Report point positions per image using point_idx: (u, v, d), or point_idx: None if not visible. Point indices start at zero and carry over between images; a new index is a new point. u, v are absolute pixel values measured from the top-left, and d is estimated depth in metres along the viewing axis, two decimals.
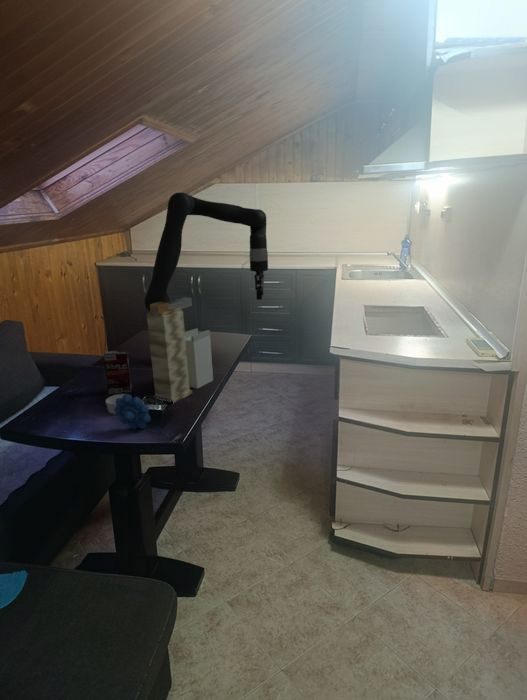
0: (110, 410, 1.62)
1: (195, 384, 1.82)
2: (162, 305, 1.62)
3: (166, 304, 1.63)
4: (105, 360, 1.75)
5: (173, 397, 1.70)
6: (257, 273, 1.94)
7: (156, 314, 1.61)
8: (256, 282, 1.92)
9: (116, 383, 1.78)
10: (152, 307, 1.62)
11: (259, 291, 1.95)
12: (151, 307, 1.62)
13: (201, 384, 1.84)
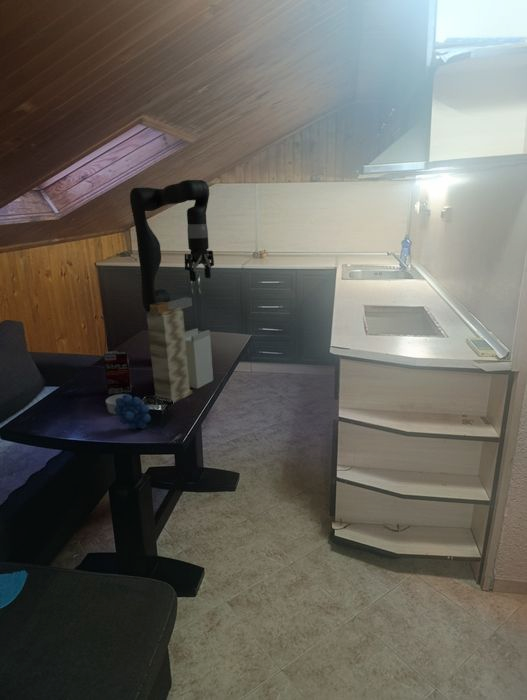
0: (110, 410, 1.62)
1: (195, 384, 1.82)
2: (162, 305, 1.62)
3: (166, 304, 1.63)
4: (105, 360, 1.75)
5: (173, 397, 1.70)
6: None
7: (156, 314, 1.61)
8: None
9: (116, 383, 1.78)
10: (152, 307, 1.62)
11: None
12: (151, 307, 1.62)
13: (201, 384, 1.84)
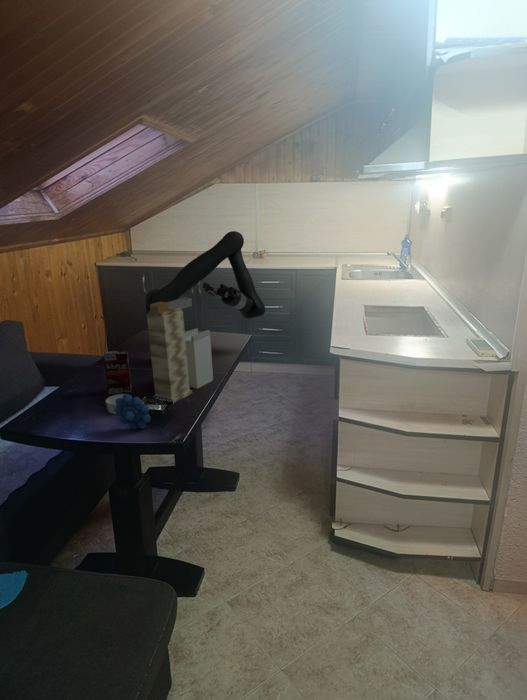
0: (110, 410, 1.62)
1: (195, 384, 1.82)
2: (162, 305, 1.62)
3: (166, 304, 1.63)
4: (105, 360, 1.75)
5: (173, 397, 1.70)
6: None
7: (156, 314, 1.61)
8: None
9: (116, 383, 1.78)
10: (152, 307, 1.62)
11: None
12: (151, 307, 1.62)
13: (201, 384, 1.84)
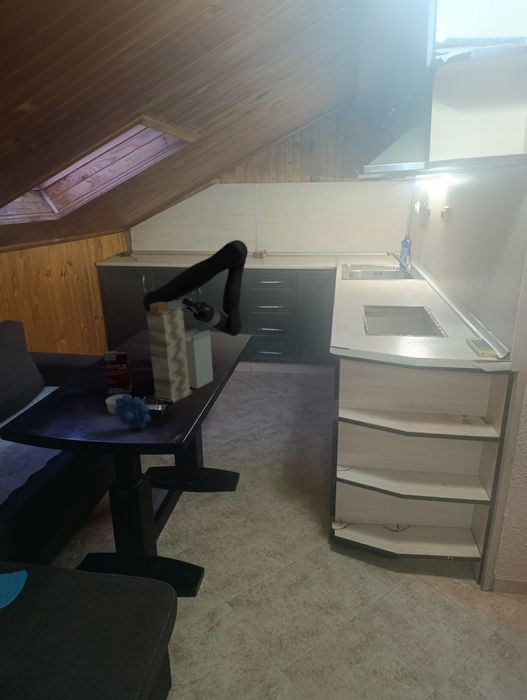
0: (110, 410, 1.62)
1: (195, 384, 1.82)
2: (162, 305, 1.62)
3: (166, 304, 1.63)
4: (105, 360, 1.75)
5: (173, 397, 1.70)
6: None
7: (156, 314, 1.61)
8: None
9: (116, 383, 1.78)
10: (152, 307, 1.62)
11: None
12: (151, 307, 1.62)
13: (201, 384, 1.84)
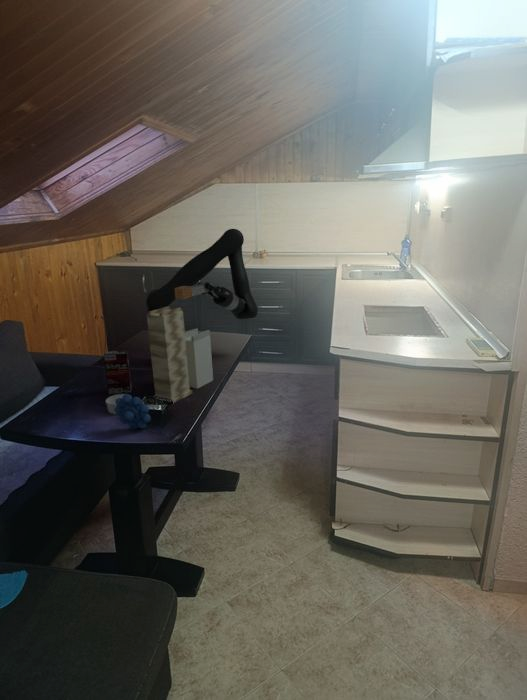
0: (110, 410, 1.62)
1: (195, 384, 1.82)
2: (186, 289, 1.71)
3: (190, 288, 1.73)
4: (105, 360, 1.75)
5: (173, 397, 1.70)
6: None
7: (180, 297, 1.71)
8: None
9: (116, 383, 1.78)
10: (176, 290, 1.71)
11: None
12: (175, 291, 1.71)
13: (201, 384, 1.84)
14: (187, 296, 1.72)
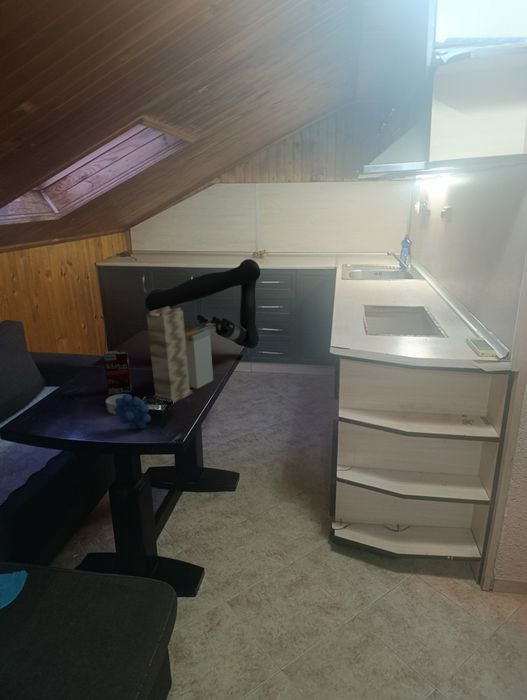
0: (110, 410, 1.62)
1: (195, 384, 1.82)
2: (190, 332, 1.76)
3: (193, 331, 1.78)
4: (105, 360, 1.75)
5: (173, 397, 1.70)
6: None
7: None
8: None
9: (116, 383, 1.78)
10: None
11: None
12: None
13: (201, 384, 1.84)
14: None
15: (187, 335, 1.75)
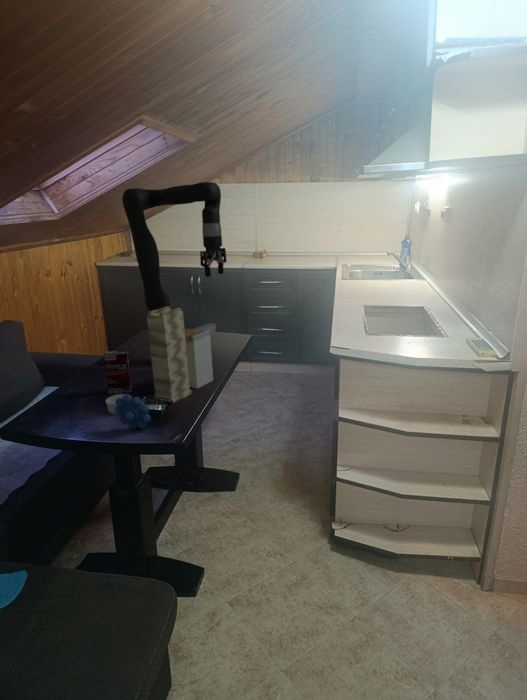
0: (110, 410, 1.62)
1: (195, 384, 1.82)
2: (190, 332, 1.76)
3: (193, 331, 1.78)
4: (105, 360, 1.75)
5: (173, 397, 1.70)
6: None
7: None
8: None
9: (116, 383, 1.78)
10: None
11: None
12: None
13: (201, 384, 1.84)
14: None
15: (187, 335, 1.75)
